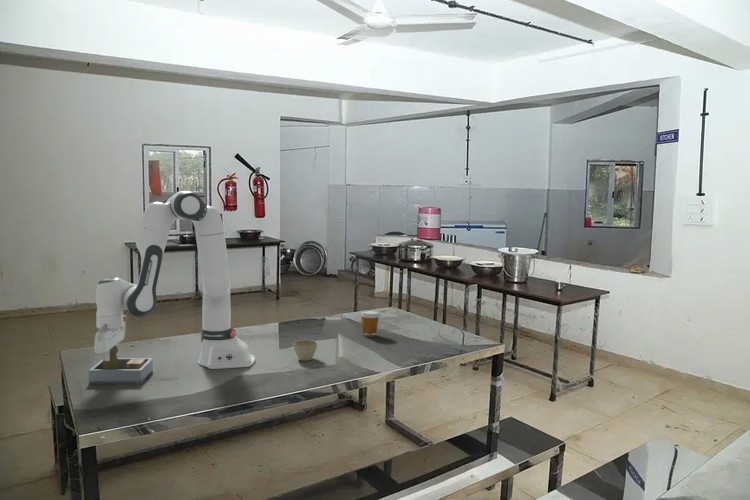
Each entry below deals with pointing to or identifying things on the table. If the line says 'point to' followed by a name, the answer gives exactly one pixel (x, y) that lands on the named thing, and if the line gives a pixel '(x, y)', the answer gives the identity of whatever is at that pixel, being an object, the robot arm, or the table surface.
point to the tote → (120, 373)
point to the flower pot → (305, 349)
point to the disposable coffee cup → (369, 321)
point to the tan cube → (135, 363)
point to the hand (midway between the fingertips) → (110, 358)
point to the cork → (113, 362)
